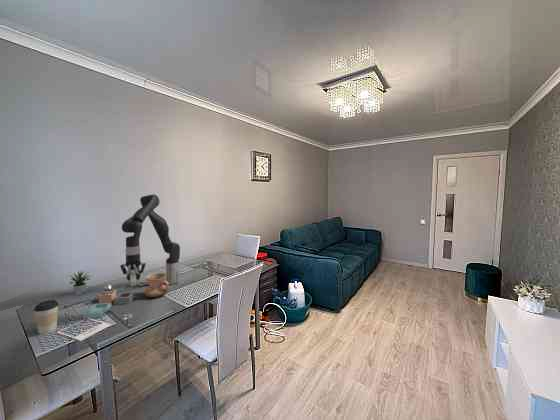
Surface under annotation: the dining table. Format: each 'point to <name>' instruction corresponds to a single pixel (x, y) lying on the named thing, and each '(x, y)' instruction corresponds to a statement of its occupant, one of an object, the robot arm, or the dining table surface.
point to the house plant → (79, 282)
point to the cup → (107, 297)
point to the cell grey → (107, 289)
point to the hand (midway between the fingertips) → (133, 279)
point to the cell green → (133, 277)
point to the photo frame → (89, 332)
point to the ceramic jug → (156, 285)
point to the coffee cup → (46, 316)
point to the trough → (97, 310)
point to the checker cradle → (124, 298)
